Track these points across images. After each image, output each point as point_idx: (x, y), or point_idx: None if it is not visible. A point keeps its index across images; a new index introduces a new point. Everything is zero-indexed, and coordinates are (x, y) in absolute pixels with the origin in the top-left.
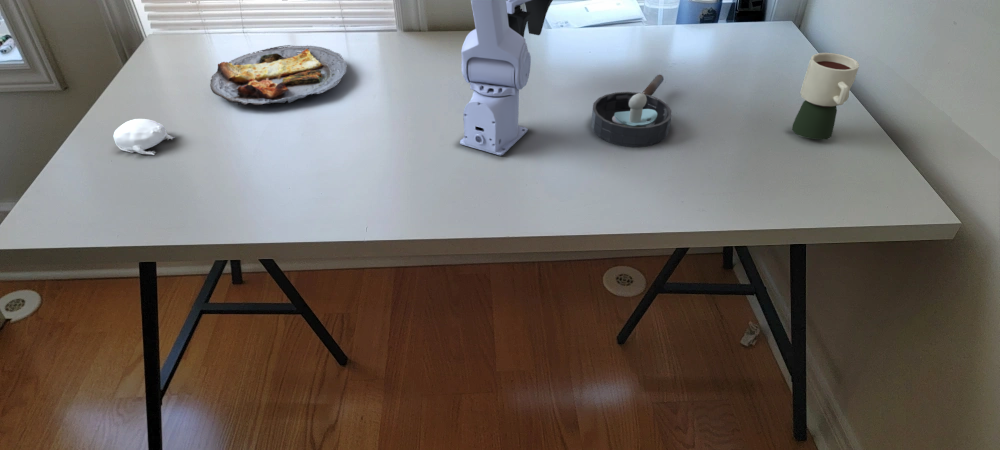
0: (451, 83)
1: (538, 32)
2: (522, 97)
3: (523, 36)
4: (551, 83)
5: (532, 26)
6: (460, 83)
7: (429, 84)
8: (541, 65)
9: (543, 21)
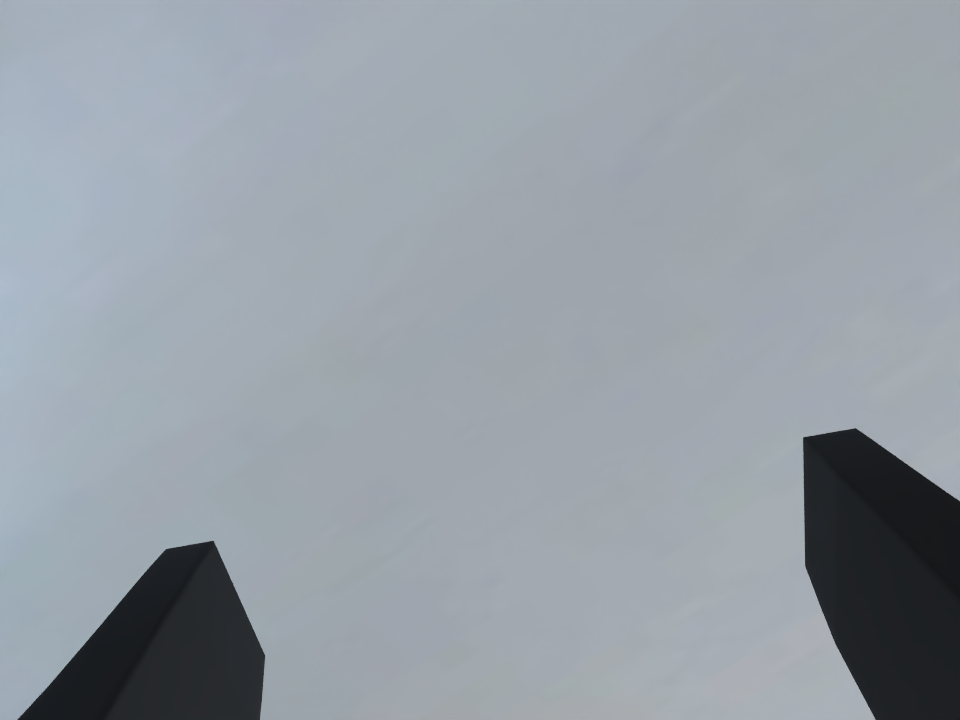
0: (730, 646)
1: (206, 579)
2: (626, 160)
3: (925, 543)
4: (212, 133)
5: (222, 716)
6: (696, 613)
7: (816, 713)
8: (15, 413)
9: (67, 691)
